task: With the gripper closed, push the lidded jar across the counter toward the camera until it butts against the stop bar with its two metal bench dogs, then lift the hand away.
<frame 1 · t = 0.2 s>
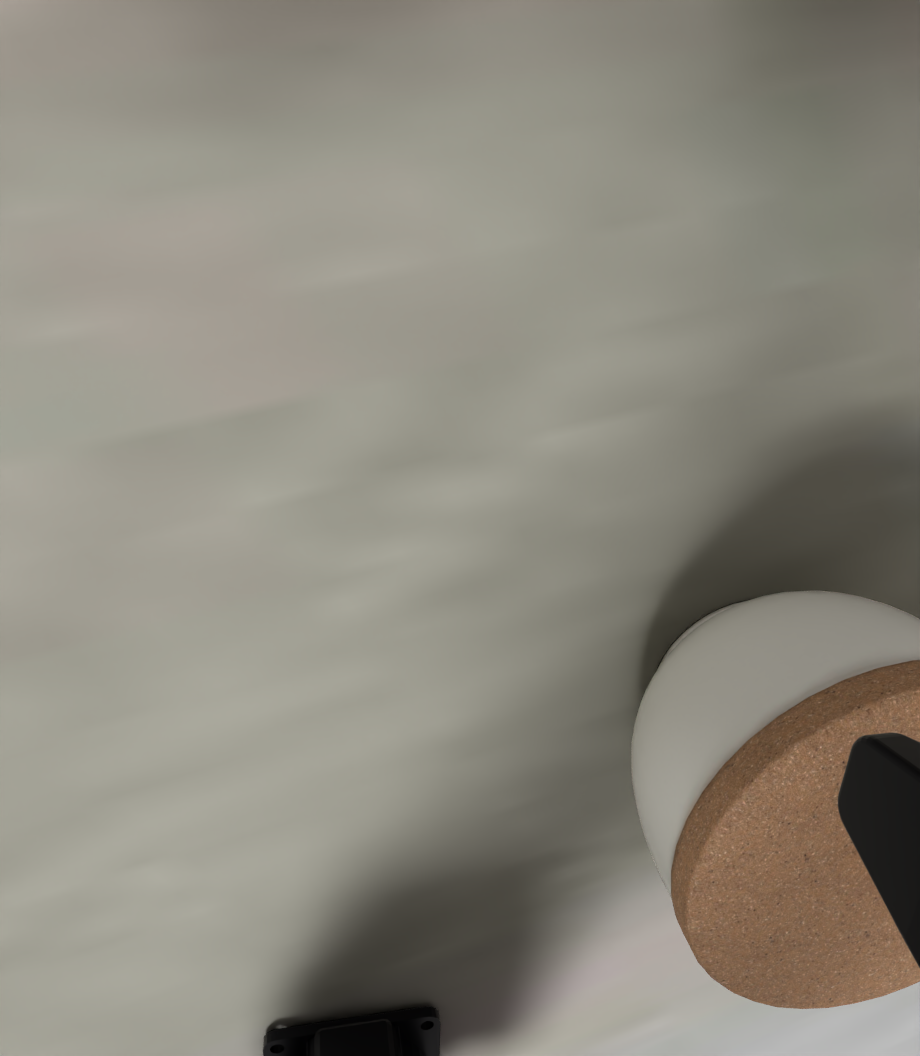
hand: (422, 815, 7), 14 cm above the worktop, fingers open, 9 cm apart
lidded jar: (735, 675, 26), on the worktop
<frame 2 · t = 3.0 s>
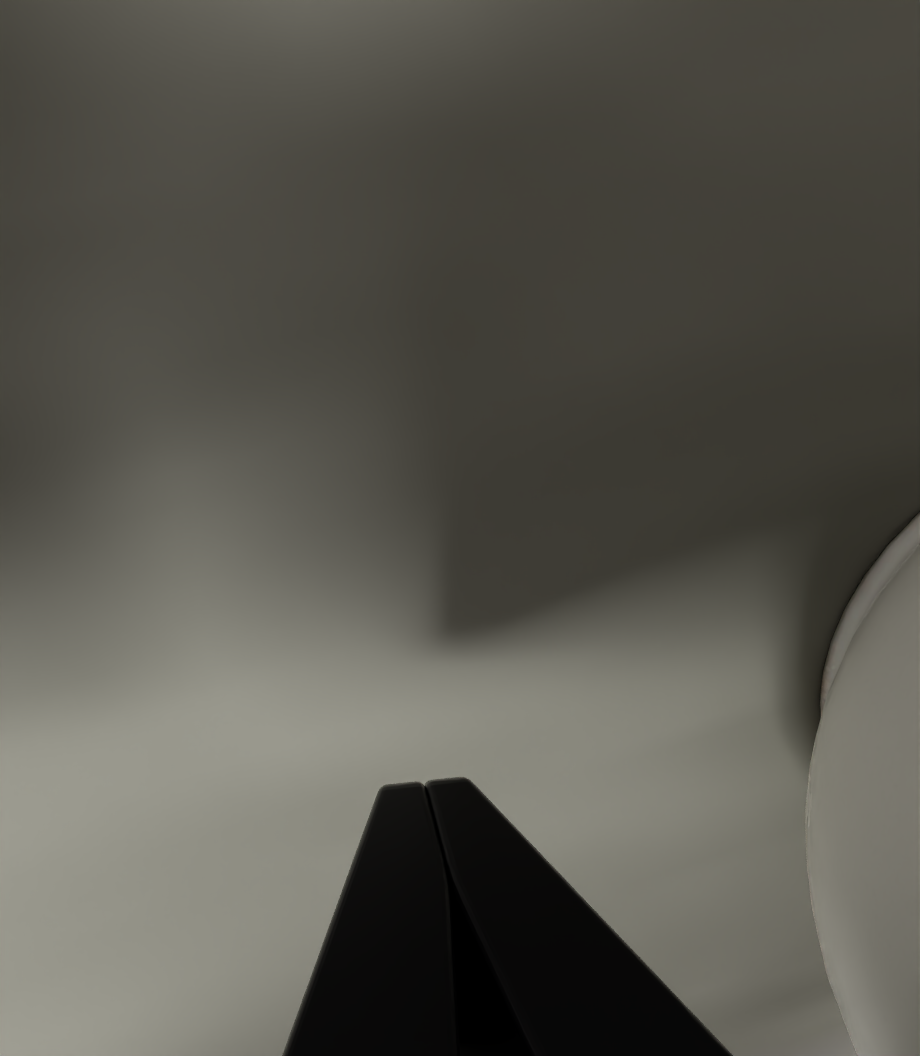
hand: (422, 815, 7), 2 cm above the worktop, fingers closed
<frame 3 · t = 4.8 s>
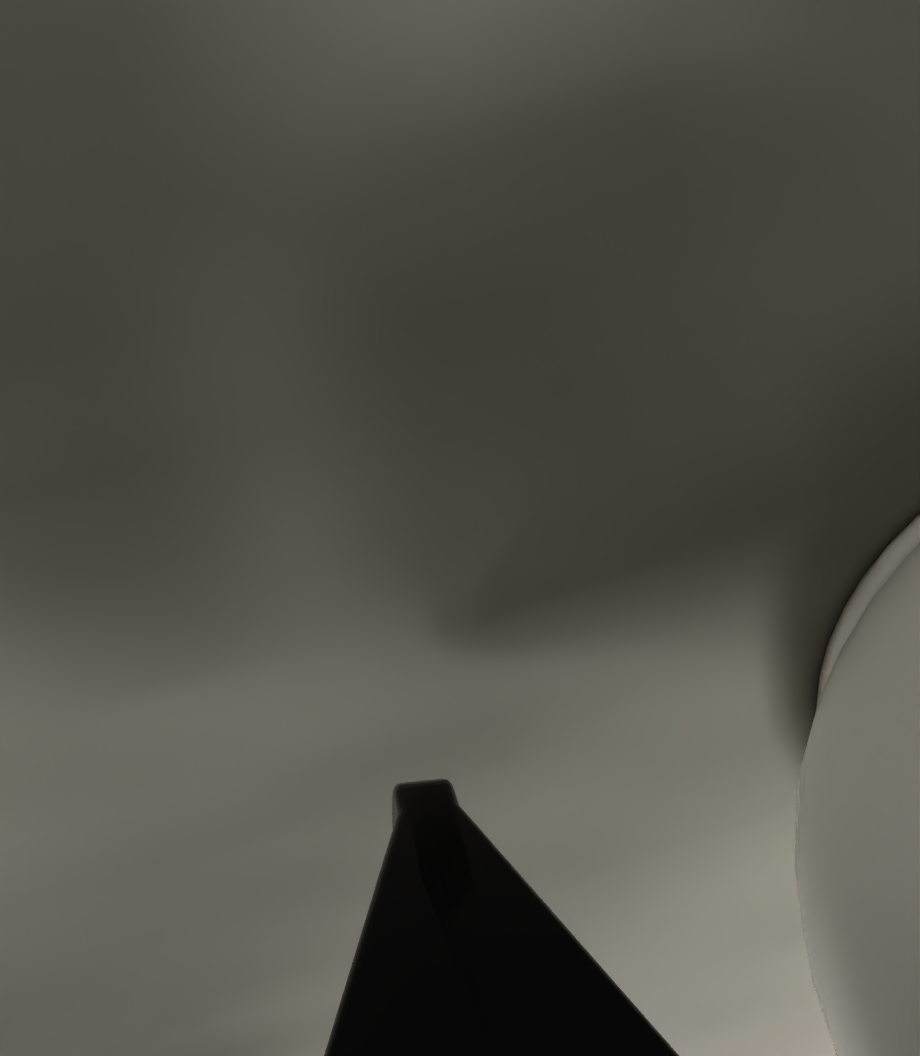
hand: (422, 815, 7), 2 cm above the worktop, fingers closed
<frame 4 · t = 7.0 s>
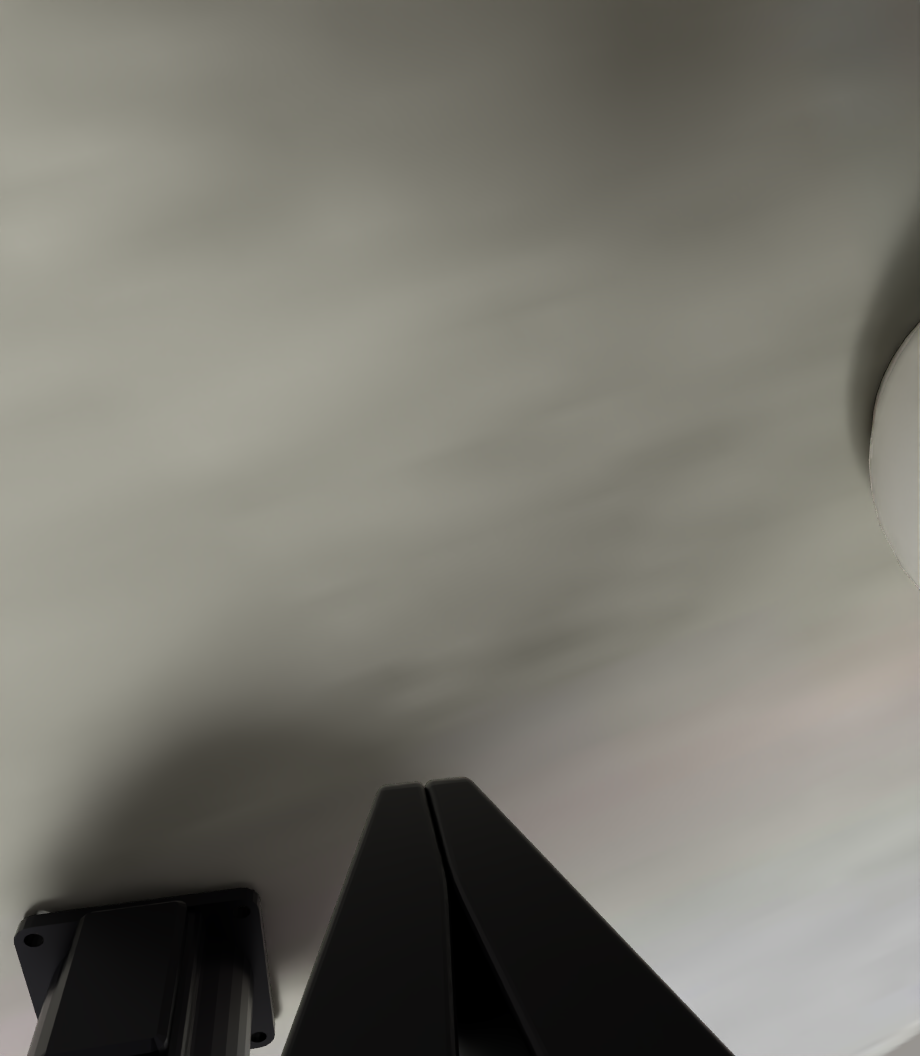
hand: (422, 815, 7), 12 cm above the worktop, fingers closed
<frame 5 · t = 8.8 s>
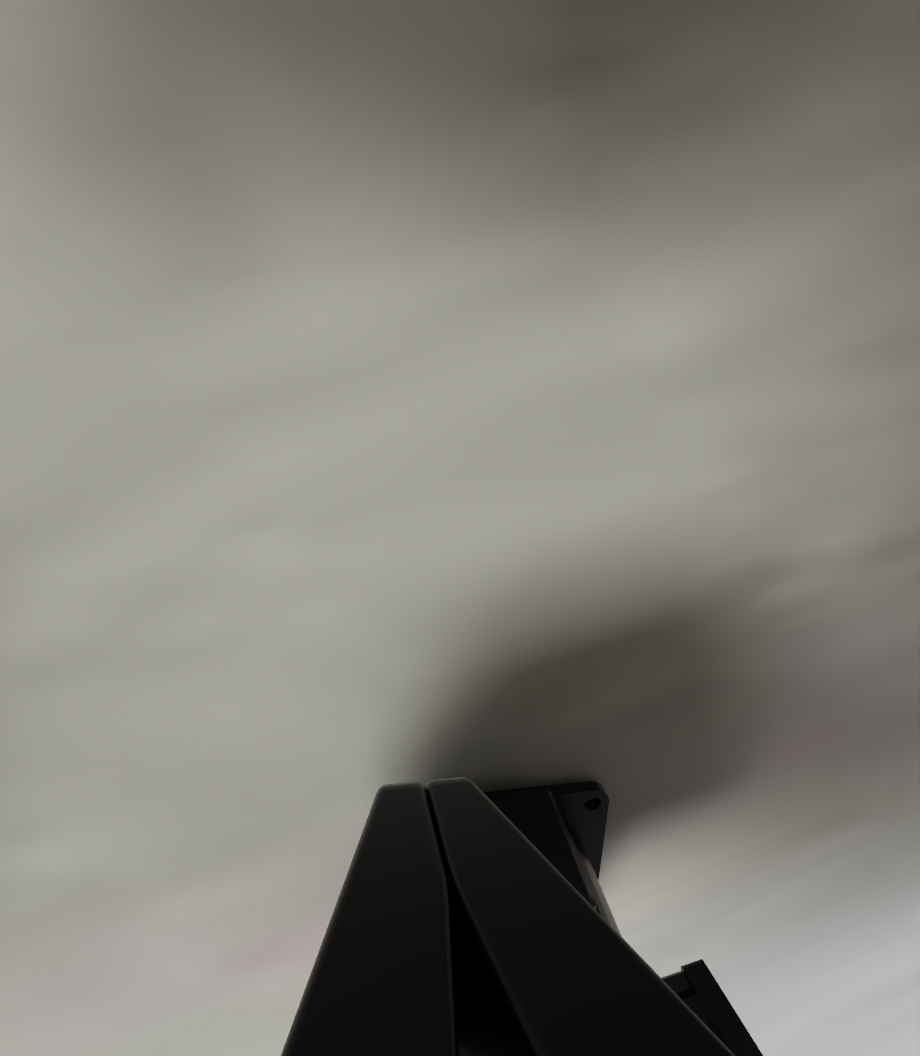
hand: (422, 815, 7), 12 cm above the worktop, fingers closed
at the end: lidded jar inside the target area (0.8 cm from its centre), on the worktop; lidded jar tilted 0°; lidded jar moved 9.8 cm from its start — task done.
